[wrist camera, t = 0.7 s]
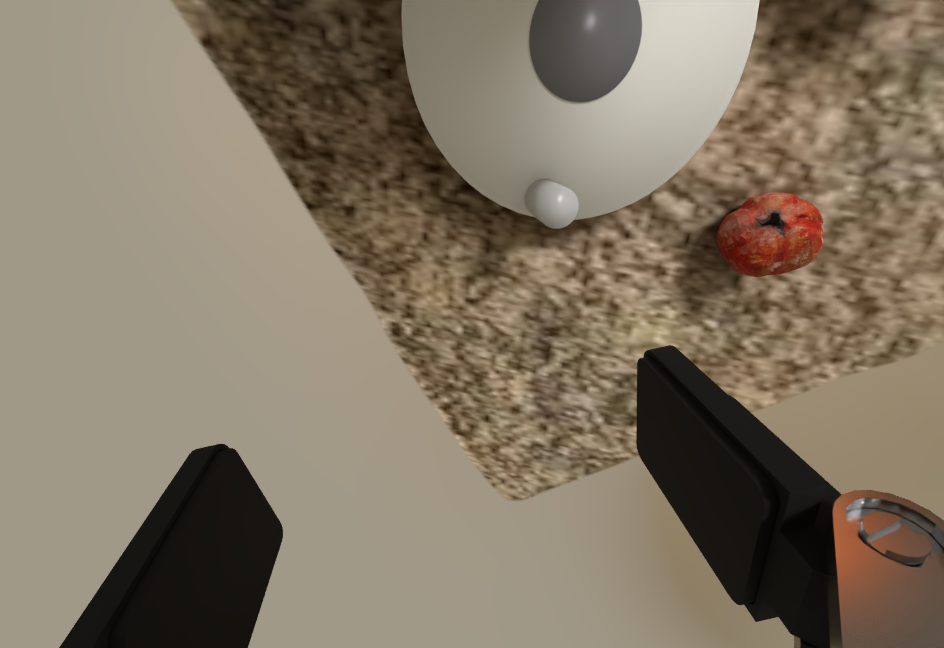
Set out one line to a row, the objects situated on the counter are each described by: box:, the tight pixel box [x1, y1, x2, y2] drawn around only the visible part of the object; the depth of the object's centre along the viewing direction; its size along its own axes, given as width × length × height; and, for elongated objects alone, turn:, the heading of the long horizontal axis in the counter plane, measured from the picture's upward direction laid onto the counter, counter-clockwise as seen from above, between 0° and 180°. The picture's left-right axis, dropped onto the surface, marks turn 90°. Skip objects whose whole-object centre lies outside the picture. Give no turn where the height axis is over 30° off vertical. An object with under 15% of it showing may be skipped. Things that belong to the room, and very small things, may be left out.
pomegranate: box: [716, 192, 824, 277], centre depth 36 cm, size 7×7×10 cm
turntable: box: [401, 0, 760, 229], centre depth 27 cm, size 24×24×8 cm
